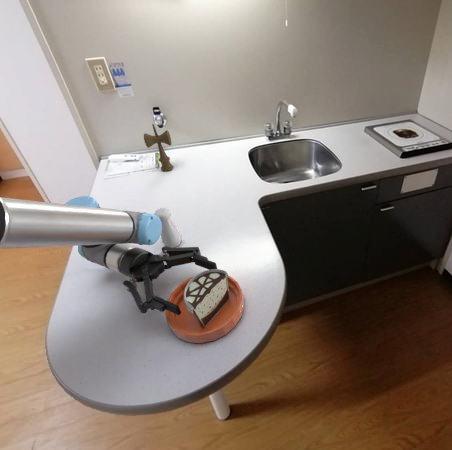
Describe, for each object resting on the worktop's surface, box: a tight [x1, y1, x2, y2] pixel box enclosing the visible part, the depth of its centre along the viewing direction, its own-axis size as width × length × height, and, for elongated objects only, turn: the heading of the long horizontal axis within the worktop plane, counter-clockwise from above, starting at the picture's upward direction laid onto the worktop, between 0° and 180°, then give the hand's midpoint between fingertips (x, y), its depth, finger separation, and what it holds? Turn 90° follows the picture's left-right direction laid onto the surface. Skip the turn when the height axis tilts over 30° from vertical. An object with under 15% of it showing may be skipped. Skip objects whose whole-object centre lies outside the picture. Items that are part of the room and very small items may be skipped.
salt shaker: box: [153, 207, 183, 248], centre depth 92 cm, size 6×6×13 cm
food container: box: [184, 268, 230, 328], centre depth 74 cm, size 12×6×10 cm, turn 151°
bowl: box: [164, 275, 245, 344], centre depth 76 cm, size 18×18×4 cm
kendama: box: [143, 123, 174, 172], centre depth 126 cm, size 6×10×20 cm, turn 107°
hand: (198, 287), depth 71 cm, fingers open, 13 cm apart
